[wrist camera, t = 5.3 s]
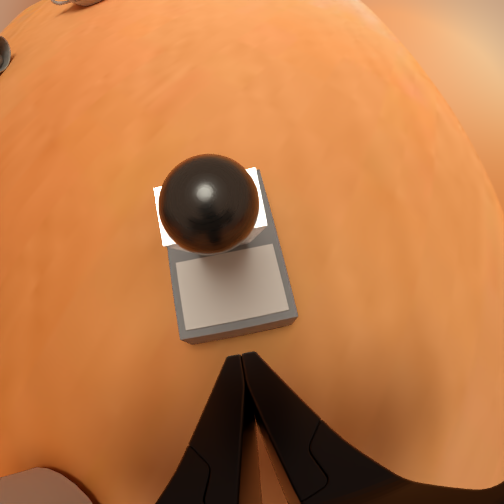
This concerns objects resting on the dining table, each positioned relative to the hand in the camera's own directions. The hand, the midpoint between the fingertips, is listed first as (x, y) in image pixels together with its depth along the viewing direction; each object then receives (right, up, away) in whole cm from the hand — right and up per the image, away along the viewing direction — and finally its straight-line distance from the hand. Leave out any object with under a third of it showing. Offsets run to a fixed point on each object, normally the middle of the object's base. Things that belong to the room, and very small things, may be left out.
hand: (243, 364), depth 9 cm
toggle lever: (-1, +4, +8) cm, 9 cm away
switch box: (-1, +3, +11) cm, 11 cm away
